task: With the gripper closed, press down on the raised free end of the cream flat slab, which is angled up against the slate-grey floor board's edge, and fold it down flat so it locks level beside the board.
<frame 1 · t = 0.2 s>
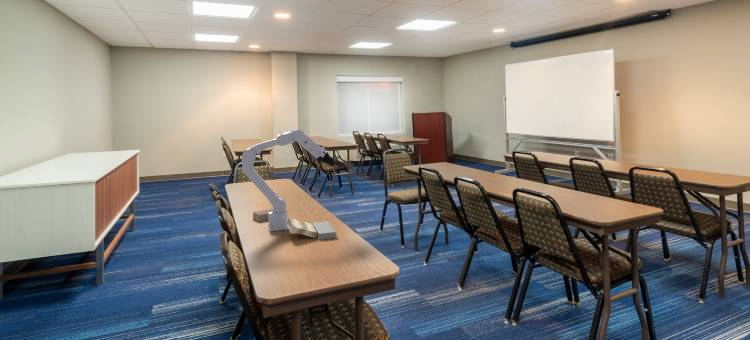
hand: (332, 164, 218), 31 cm above the table, tool tilted 50°, fingers open, 7 cm apart
board: (323, 232, 207), on the table
cream flat slab: (301, 227, 204), point 4 cm above the table, hinge at 20.0°
brick: (269, 218, 238), on the table
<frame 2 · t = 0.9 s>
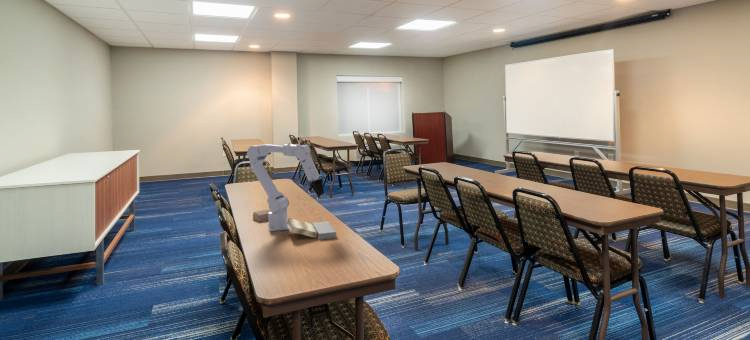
hand: (321, 194, 205), 19 cm above the table, tool tilted 25°, fingers open, 7 cm apart
nothing on the table moved.
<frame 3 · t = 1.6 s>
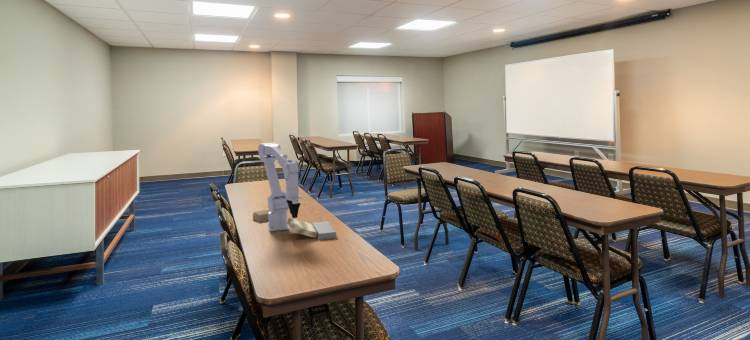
hand: (293, 215, 202), 10 cm above the table, tool pointing down, fingers open, 7 cm apart
nothing on the table moved.
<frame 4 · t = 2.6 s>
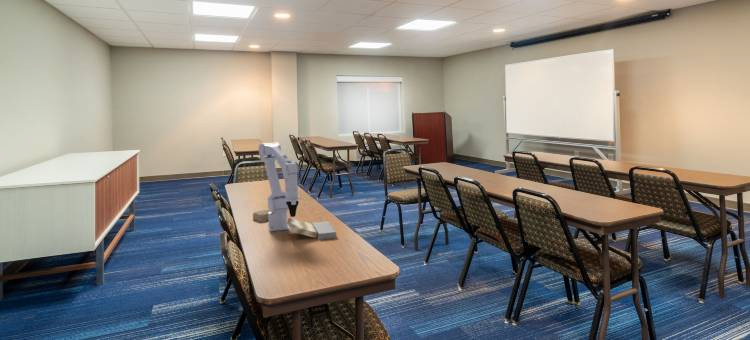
hand: (292, 216, 202), 9 cm above the table, tool pointing down, fingers closed
nothing on the table moved.
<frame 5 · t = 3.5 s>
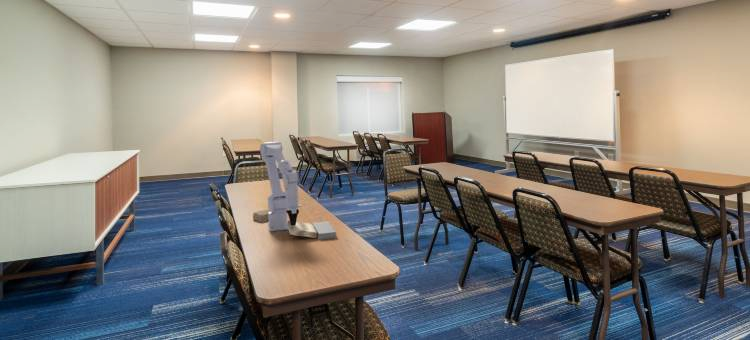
hand: (293, 225, 202), 5 cm above the table, tool pointing down, fingers closed, pressing on cream flat slab
cream flat slab: (301, 229, 204), point 3 cm above the table, hinge at 13.6°, touching gripper
everything else where it was.
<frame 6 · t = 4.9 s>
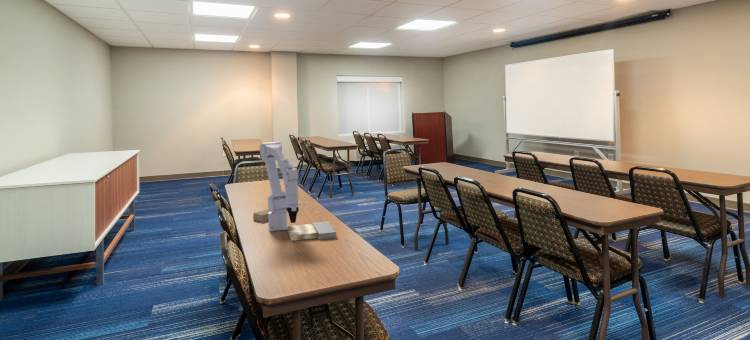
hand: (293, 222, 202), 6 cm above the table, tool pointing down, fingers closed
cream flat slab: (302, 231, 204), point 1 cm above the table, hinge at -0.1°
everything else where it was.
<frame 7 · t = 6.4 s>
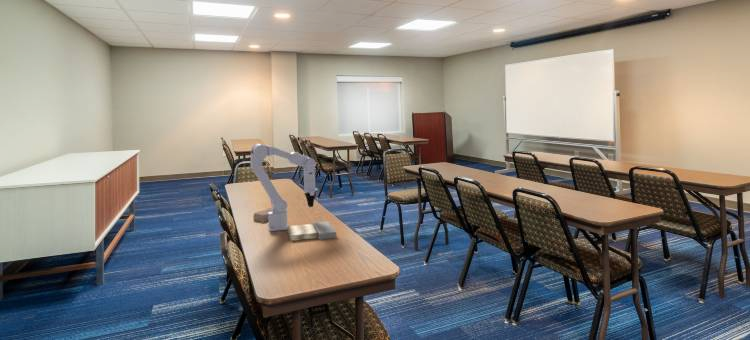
hand: (310, 206, 221), 9 cm above the table, tool pointing down, fingers closed
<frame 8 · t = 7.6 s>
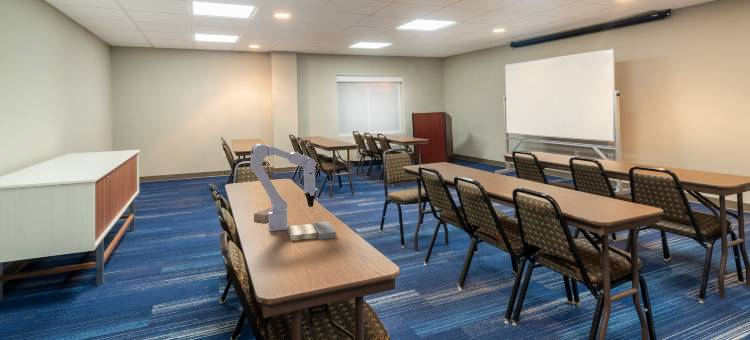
hand: (310, 206, 221), 9 cm above the table, tool pointing down, fingers closed
at the end: cream flat slab at +0° (first picture: +20°) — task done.
